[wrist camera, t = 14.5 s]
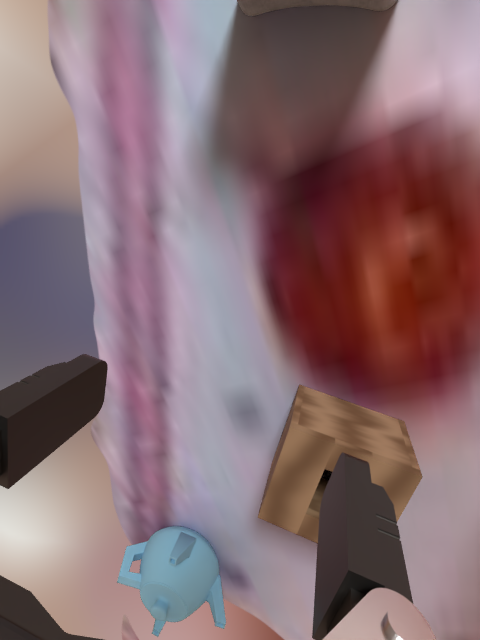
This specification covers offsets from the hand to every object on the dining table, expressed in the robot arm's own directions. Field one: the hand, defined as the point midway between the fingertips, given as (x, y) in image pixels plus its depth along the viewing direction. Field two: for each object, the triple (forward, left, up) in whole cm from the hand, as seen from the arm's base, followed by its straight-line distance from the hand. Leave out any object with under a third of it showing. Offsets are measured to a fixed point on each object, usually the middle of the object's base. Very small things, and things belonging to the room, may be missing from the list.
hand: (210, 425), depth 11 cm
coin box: (-11, +22, -33) cm, 41 cm away
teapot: (+5, +55, -33) cm, 65 cm away
